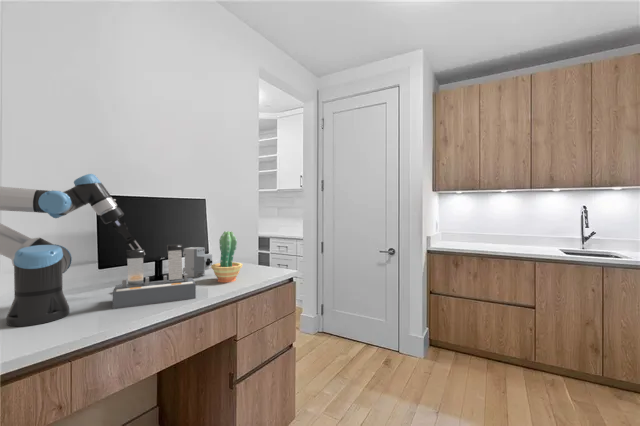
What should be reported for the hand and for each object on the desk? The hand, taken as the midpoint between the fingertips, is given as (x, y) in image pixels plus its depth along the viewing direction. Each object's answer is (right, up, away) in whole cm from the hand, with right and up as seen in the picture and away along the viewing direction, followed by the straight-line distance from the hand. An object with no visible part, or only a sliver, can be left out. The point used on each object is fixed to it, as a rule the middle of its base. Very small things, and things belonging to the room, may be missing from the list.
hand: (141, 255), depth 125 cm
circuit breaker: (+8, -17, +40) cm, 44 cm away
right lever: (+14, -10, 0) cm, 17 cm away
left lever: (+2, -10, -7) cm, 13 cm away
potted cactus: (+26, -17, +30) cm, 43 cm away
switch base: (+8, -17, -4) cm, 19 cm away
